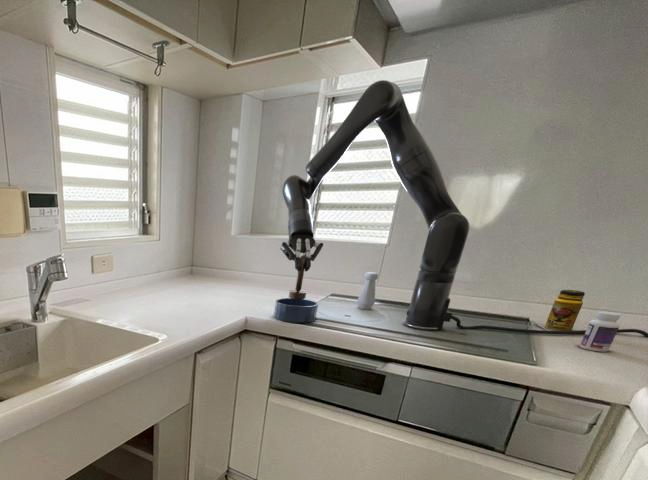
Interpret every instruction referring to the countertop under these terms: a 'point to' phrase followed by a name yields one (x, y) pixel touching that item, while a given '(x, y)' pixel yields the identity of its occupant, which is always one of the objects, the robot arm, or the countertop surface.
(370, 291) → the salt shaker
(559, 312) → the condiment
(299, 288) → the brown stamp
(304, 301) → the bowl
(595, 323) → the pill bottle
